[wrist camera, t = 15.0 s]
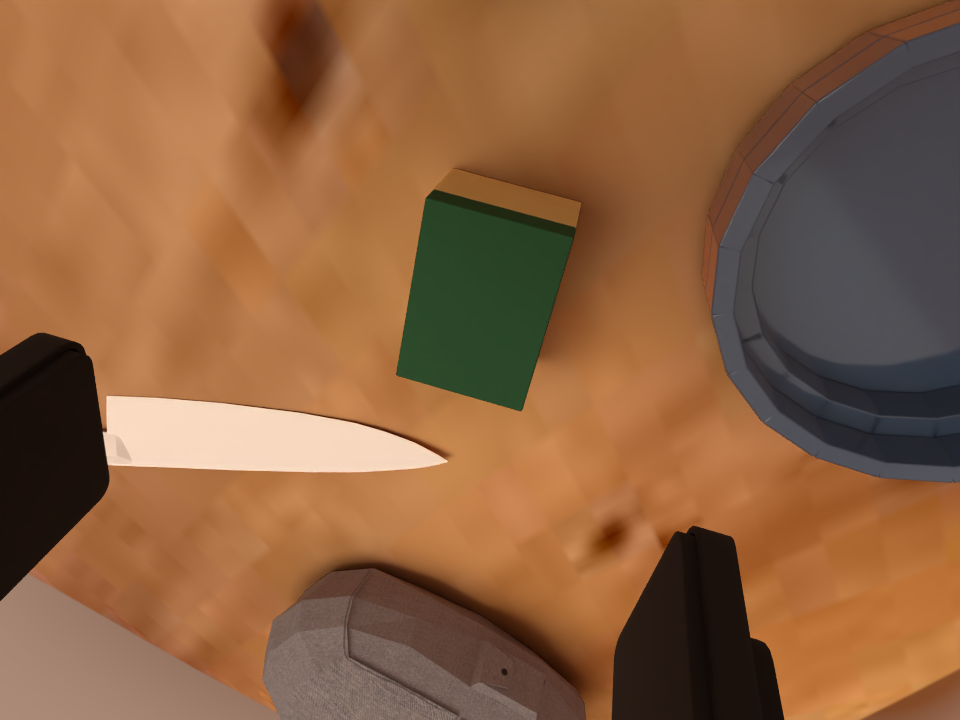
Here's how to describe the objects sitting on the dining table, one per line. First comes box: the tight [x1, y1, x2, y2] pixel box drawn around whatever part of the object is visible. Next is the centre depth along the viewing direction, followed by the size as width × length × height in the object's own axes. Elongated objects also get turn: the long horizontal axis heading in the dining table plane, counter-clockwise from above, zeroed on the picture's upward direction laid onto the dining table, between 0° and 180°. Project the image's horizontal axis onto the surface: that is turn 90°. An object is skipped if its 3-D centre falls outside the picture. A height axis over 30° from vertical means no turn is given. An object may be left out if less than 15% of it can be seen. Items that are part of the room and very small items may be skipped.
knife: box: [103, 396, 449, 472], centre depth 39 cm, size 1×33×5 cm
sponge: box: [396, 168, 581, 411], centre depth 28 cm, size 8×6×4 cm
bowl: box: [702, 0, 960, 483], centre depth 24 cm, size 17×17×4 cm
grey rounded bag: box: [263, 568, 586, 720], centre depth 41 cm, size 15×8×20 cm
